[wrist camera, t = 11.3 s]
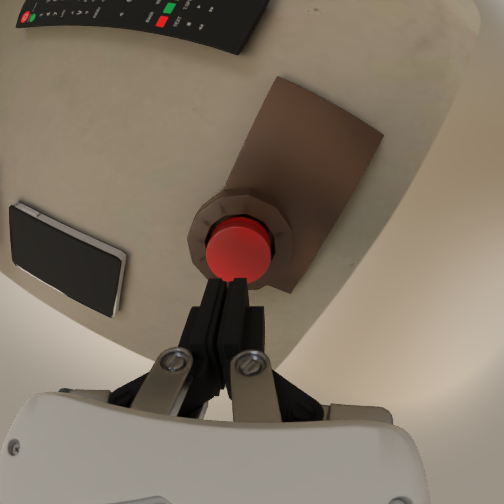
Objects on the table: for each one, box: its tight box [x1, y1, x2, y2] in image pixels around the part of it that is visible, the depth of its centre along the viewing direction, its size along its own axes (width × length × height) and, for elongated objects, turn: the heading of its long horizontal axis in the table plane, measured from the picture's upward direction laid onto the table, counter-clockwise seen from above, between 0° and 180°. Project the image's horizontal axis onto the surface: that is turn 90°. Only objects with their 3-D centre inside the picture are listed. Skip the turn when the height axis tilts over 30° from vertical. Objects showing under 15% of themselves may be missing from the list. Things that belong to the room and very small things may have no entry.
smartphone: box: [9, 202, 126, 318], centre depth 22 cm, size 8×1×15 cm
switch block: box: [187, 76, 384, 294], centre depth 18 cm, size 14×9×3 cm, turn 156°
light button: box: [206, 217, 271, 283], centre depth 18 cm, size 4×4×2 cm
